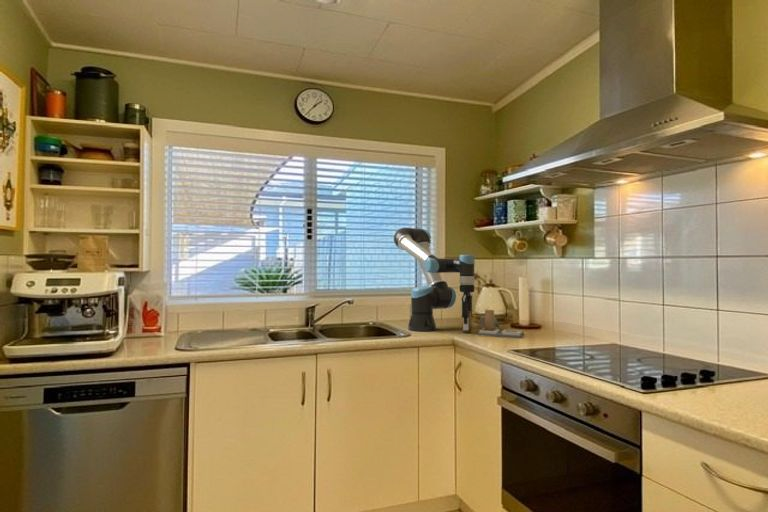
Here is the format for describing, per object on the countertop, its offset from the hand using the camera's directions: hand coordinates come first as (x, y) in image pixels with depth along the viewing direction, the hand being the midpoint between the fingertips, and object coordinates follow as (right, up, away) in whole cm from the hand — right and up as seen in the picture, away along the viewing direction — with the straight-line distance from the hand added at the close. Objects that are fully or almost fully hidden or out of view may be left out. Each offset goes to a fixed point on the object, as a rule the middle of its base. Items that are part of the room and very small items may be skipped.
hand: (467, 329), depth 228 cm
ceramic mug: (+15, -2, +13) cm, 20 cm away
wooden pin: (0, -2, 0) cm, 2 cm away
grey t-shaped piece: (+16, -2, -7) cm, 17 cm away
